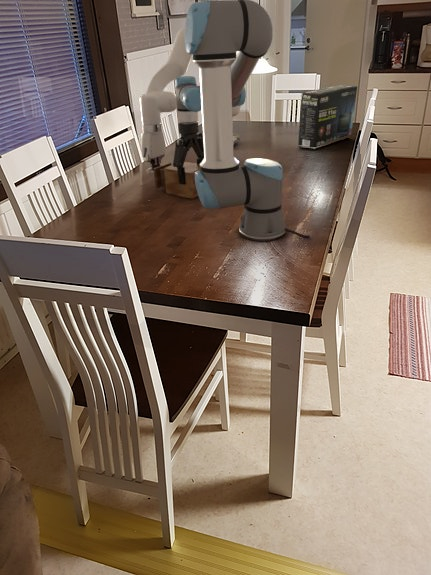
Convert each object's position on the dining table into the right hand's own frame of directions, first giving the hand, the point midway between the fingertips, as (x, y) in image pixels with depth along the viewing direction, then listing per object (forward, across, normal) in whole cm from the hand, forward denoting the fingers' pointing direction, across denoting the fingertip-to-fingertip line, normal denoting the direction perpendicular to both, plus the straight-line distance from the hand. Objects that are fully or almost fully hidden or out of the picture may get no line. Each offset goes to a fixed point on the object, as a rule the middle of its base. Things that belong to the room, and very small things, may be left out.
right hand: (191, 179), depth 182 cm
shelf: (+5, 0, -13) cm, 13 cm away
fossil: (+6, -69, -33) cm, 77 cm away
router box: (+6, -98, +14) cm, 99 cm away
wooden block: (+6, 0, -3) cm, 6 cm away
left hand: (0, 0, -18) cm, 18 cm away
